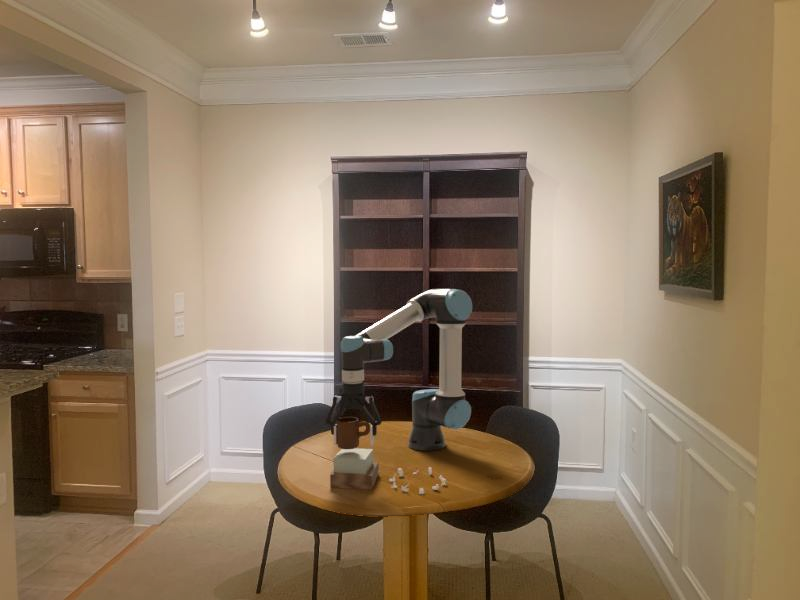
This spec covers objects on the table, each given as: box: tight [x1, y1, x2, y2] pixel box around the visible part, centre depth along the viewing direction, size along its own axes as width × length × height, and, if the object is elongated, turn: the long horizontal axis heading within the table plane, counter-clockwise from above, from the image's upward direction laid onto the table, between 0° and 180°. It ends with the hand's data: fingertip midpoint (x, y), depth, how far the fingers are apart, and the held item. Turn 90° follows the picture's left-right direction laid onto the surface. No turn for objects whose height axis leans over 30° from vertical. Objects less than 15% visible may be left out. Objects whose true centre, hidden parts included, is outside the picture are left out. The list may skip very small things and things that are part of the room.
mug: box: [336, 416, 371, 450], centre depth 199 cm, size 12×8×9 cm, turn 73°
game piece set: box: [388, 466, 447, 495], centre depth 197 cm, size 19×20×4 cm
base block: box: [329, 461, 379, 490], centre depth 199 cm, size 14×14×5 cm
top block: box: [332, 447, 374, 474], centre depth 199 cm, size 11×11×5 cm
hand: (354, 444), depth 199 cm, fingers closed on mug, 12 cm apart
